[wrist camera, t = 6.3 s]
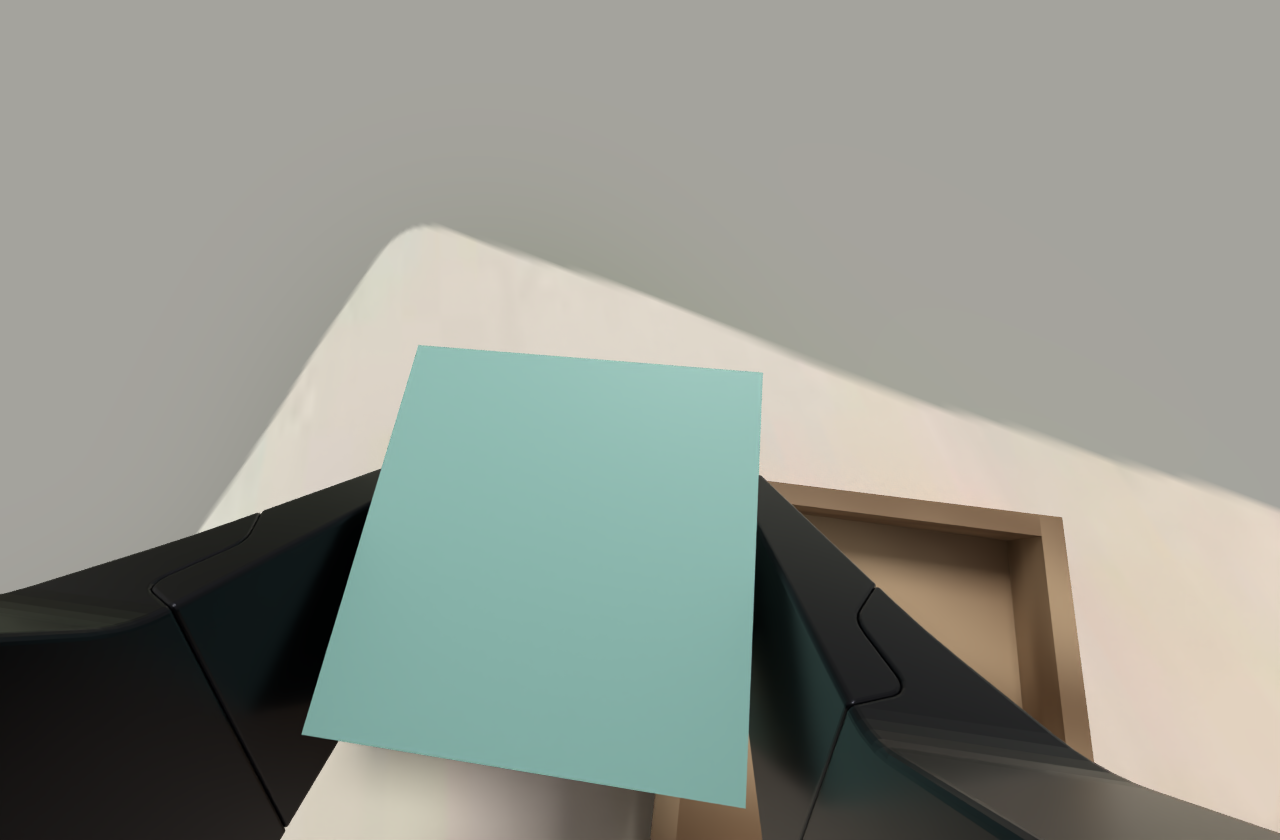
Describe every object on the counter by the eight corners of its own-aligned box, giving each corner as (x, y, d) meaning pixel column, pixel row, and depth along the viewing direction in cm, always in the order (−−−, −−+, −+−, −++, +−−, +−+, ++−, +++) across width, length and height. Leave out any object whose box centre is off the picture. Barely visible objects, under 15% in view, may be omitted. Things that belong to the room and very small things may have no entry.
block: (697, 668, 14) (745, 809, 5) (534, 645, 15) (301, 735, 6) (709, 501, 16) (762, 372, 7) (562, 486, 17) (418, 345, 7)
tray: (1053, 938, 17) (1126, 1005, 14) (648, 855, 18) (644, 901, 15) (1012, 526, 21) (1061, 517, 18) (688, 485, 22) (691, 471, 20)
